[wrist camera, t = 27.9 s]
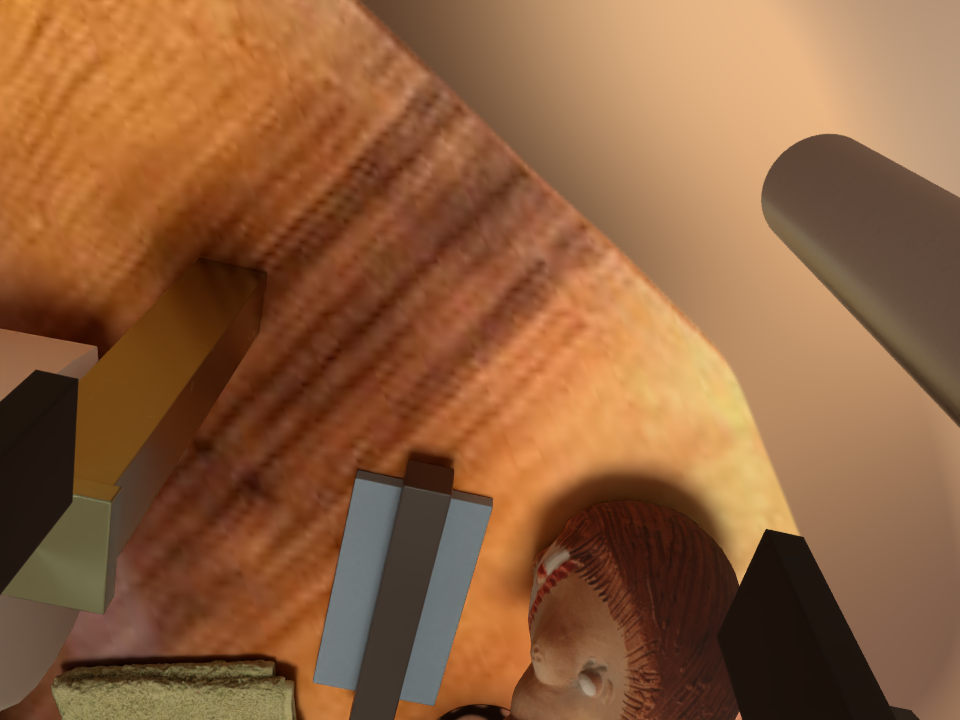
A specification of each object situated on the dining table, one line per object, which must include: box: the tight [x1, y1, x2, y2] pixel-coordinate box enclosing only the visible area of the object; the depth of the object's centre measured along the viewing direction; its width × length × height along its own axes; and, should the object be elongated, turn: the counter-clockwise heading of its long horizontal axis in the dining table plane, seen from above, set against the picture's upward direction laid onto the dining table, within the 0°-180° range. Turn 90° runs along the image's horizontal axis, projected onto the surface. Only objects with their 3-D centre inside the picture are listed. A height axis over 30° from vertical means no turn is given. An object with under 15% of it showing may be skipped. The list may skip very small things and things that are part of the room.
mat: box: [313, 470, 493, 706], centre depth 61 cm, size 18×9×1 cm, turn 167°
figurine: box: [503, 500, 739, 720], centre depth 53 cm, size 14×16×15 cm
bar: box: [349, 460, 454, 720], centre depth 59 cm, size 22×3×3 cm, turn 167°
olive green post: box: [1, 258, 267, 614], centre depth 41 cm, size 5×5×24 cm
